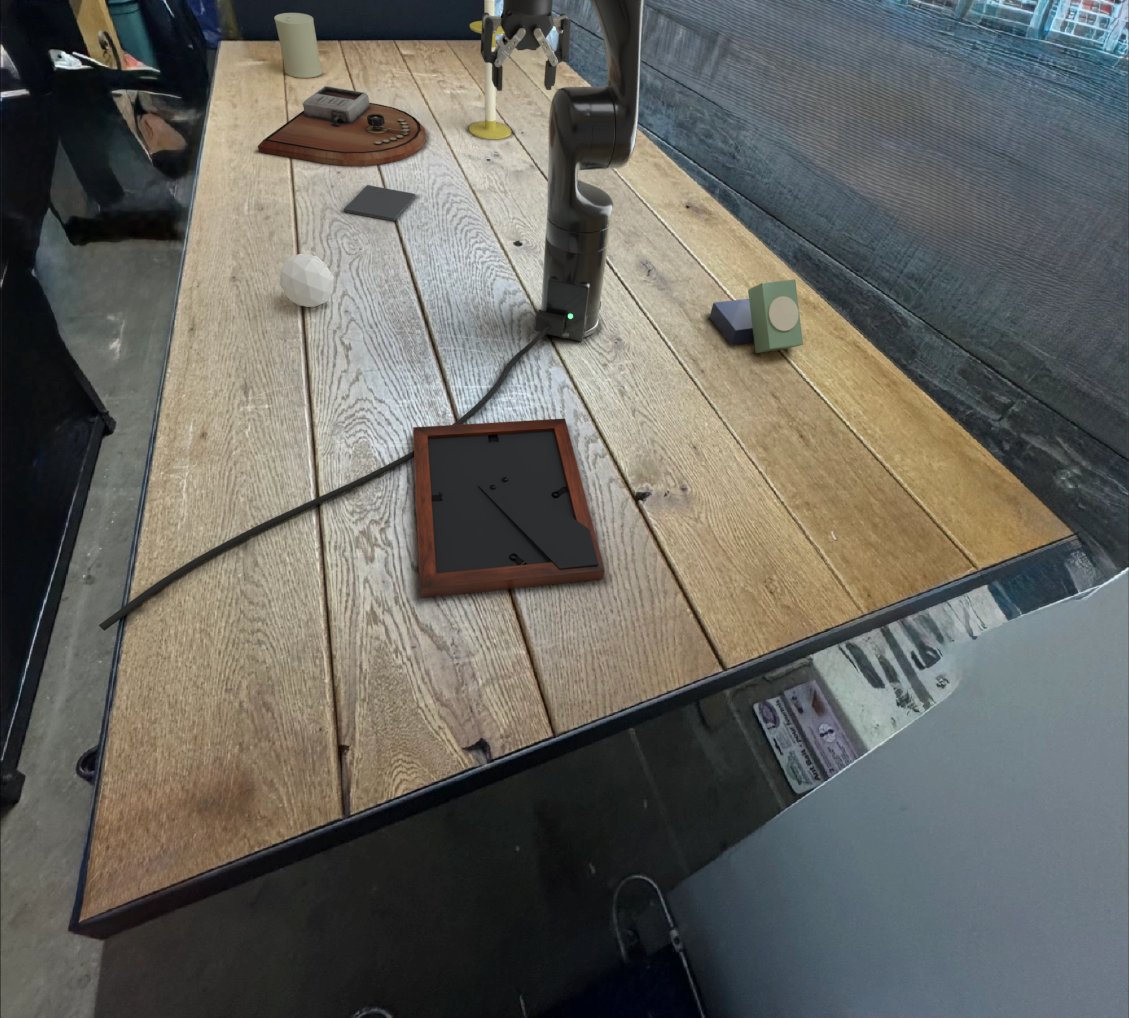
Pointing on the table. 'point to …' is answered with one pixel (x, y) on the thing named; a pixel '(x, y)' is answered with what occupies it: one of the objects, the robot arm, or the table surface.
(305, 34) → the can
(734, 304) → the rectangular block
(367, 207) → the felt pad
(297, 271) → the geometric ball
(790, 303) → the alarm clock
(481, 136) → the cream and yellow pole
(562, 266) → the robot arm
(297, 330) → the table surface
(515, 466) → the picture frame
